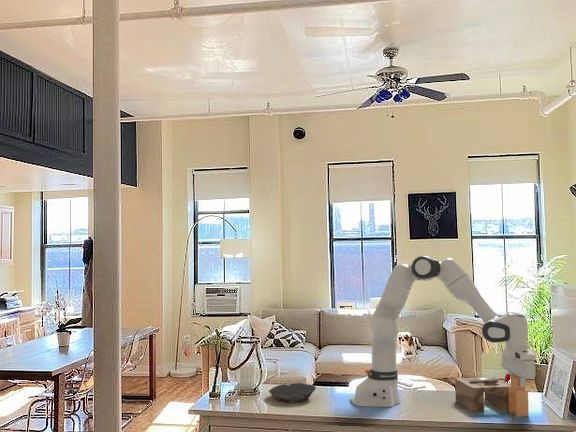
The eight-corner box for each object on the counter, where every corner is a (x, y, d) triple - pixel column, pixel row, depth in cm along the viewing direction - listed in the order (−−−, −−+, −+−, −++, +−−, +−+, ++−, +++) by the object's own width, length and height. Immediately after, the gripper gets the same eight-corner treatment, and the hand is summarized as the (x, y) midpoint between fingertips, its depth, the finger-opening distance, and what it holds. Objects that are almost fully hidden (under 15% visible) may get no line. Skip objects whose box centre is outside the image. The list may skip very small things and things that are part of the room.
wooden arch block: (473, 411, 230) (472, 384, 231) (455, 400, 247) (455, 374, 247) (514, 410, 232) (514, 382, 233) (494, 398, 249) (494, 373, 250)
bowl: (313, 406, 238) (312, 394, 238) (264, 406, 242) (264, 395, 242) (319, 393, 259) (318, 382, 260) (274, 393, 263) (274, 382, 264)
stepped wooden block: (517, 416, 223) (516, 378, 224) (509, 412, 230) (508, 375, 231) (528, 416, 224) (527, 378, 225) (520, 411, 230) (519, 374, 231)
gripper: (497, 347, 238) (498, 379, 237) (523, 356, 218) (524, 391, 217) (510, 346, 239) (511, 378, 238) (538, 356, 219) (538, 390, 218)
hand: (517, 384), depth 228 cm, fingers closed on stepped wooden block, 4 cm apart
